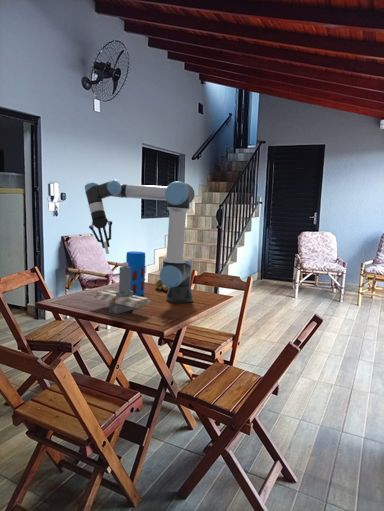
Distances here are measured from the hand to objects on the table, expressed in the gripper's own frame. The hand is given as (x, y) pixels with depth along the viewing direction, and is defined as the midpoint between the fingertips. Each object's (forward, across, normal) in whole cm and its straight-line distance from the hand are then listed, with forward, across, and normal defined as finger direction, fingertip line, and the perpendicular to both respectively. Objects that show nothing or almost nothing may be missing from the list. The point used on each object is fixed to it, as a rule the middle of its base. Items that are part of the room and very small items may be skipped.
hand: (107, 253), depth 200 cm
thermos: (+26, -9, -17) cm, 32 cm away
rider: (+25, -4, +20) cm, 32 cm away
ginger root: (+28, -28, -33) cm, 52 cm away
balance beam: (+31, -1, +18) cm, 35 cm away
